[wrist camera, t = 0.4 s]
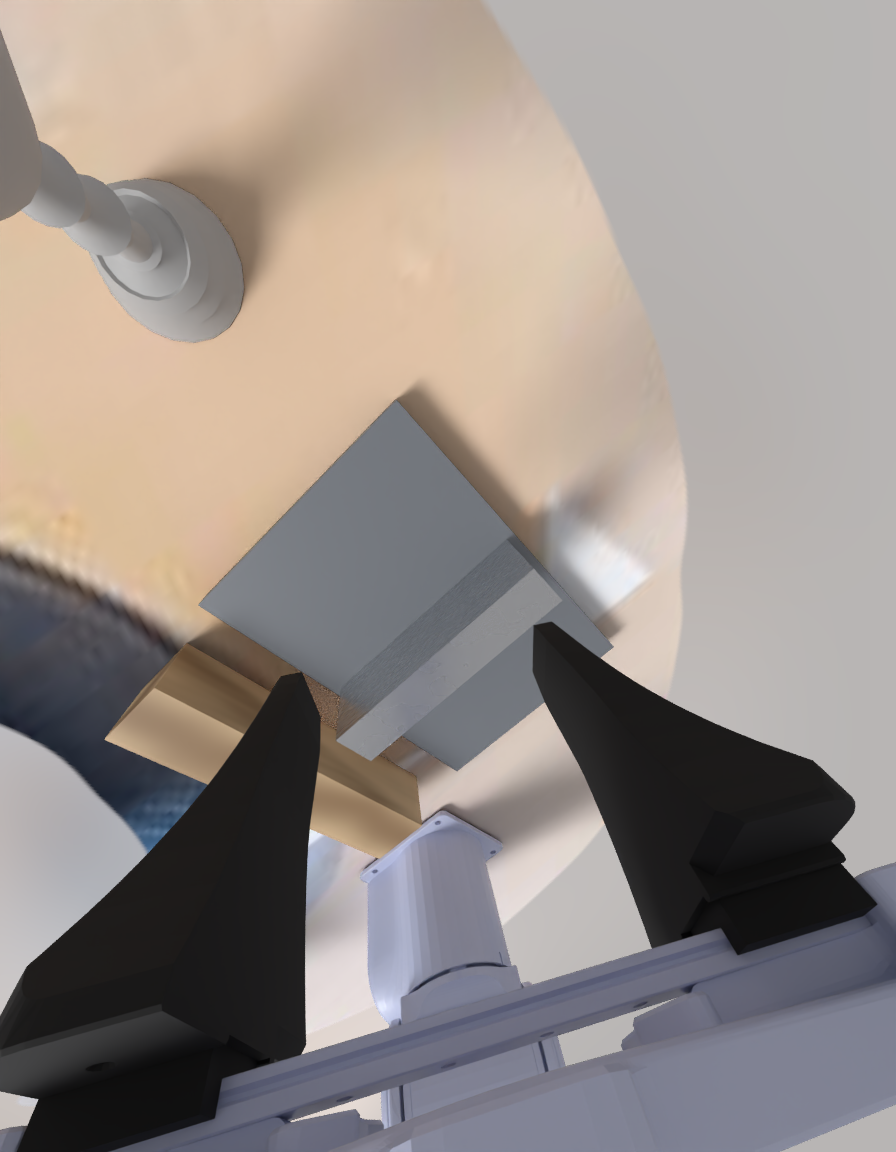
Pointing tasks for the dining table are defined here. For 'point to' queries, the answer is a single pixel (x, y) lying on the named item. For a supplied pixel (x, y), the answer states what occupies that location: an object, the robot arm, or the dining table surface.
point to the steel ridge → (442, 650)
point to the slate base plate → (388, 580)
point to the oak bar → (218, 722)
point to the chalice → (124, 229)
